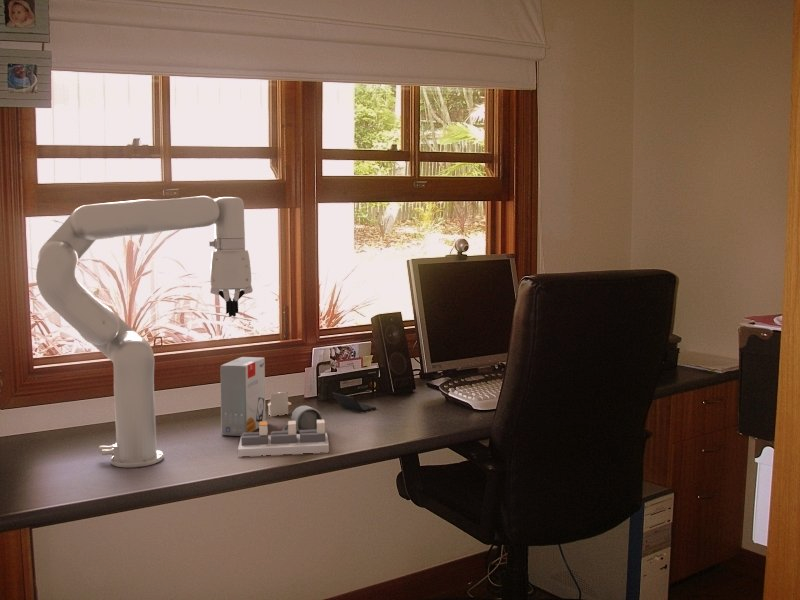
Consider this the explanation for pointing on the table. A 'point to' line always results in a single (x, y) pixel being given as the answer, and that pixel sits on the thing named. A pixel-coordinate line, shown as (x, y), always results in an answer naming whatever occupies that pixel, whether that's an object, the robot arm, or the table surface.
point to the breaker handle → (263, 428)
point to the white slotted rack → (285, 441)
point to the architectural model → (278, 404)
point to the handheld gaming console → (352, 403)
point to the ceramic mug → (305, 418)
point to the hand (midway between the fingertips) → (232, 315)
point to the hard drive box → (242, 395)
